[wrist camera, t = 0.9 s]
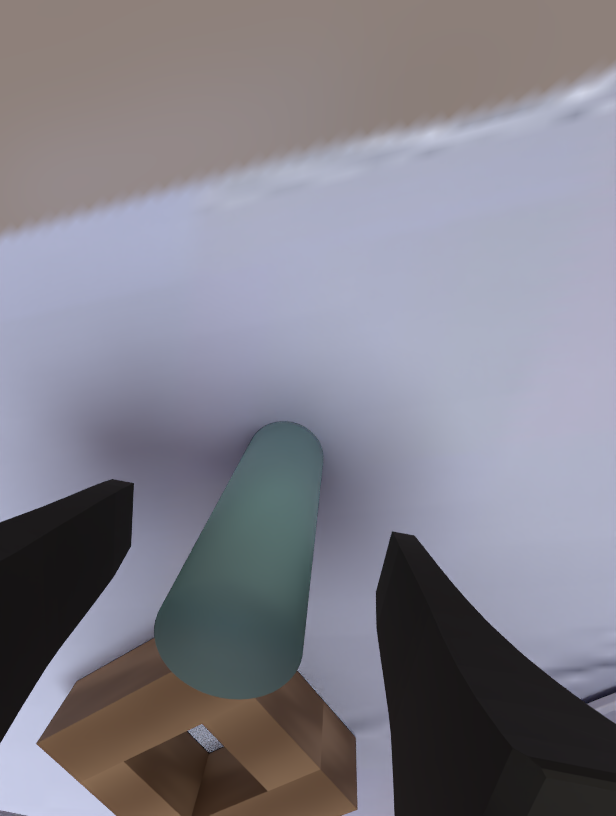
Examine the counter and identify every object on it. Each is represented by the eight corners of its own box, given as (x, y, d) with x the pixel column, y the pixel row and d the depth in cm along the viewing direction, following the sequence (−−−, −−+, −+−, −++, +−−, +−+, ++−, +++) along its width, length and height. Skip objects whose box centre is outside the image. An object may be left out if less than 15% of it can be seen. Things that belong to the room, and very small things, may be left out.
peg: (338, 467, 17) (332, 663, 9) (277, 504, 18) (217, 718, 9) (293, 406, 17) (239, 553, 8) (232, 447, 17) (123, 621, 9)
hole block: (355, 737, 21) (357, 809, 19) (202, 802, 24) (183, 875, 21) (230, 594, 19) (211, 650, 17) (76, 681, 22) (36, 743, 19)
